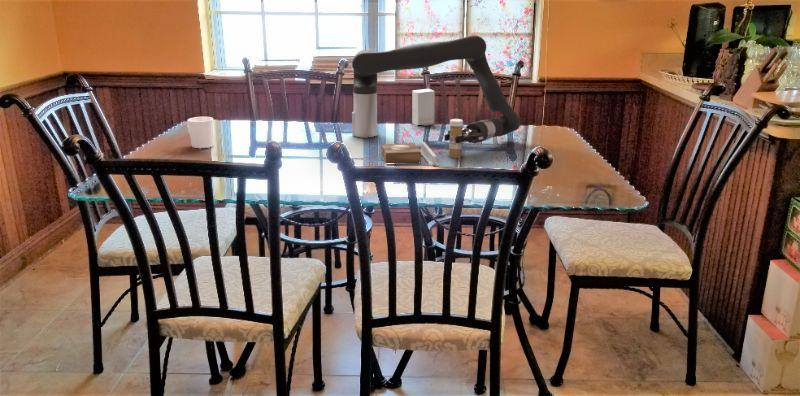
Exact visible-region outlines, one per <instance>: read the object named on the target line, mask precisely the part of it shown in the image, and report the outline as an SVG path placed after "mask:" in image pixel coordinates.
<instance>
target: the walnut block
mask: <svg viewBox="0 0 800 396" xmlns="http://www.w3.org/2000/svg"><path fill="white" fill-rule="evenodd" d="M420 150H421V149H419V148H418V147H417V145H416V144H415V143H414V142H413V143H410V142H409V143H385V144H381V145H380V155H382V156H381V158H382V157H383V158H384V160H385V161H384V160H383V161H384V163H385V162H386V163H410V164H409V165H411V163H415V164H420V163H419V162H421V163H422V155H421V151H420ZM383 158H382V159H383ZM386 163H385V164H386Z"/></svg>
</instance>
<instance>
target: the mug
mask: <svg viewBox="0 0 800 396" xmlns="http://www.w3.org/2000/svg"><path fill="white" fill-rule="evenodd" d="M186 126H187V130H188V131H187V132H188V133H189V136H190V143H191V144H190V145H191V147H192V148H193V147H195V148H208V149H211V148H210V147H212V148H213V146H215V127H214V126H215V125H214V118H213V117H210V116H195V117H190V118H188V119H187V121H186Z"/></svg>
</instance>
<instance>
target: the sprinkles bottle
mask: <svg viewBox="0 0 800 396" xmlns="http://www.w3.org/2000/svg"><path fill="white" fill-rule="evenodd" d="M463 125H464V120H463V119H460V118H453V119H452V118H451V119H450V120H449V127H450V129H449V130H450V140H448V141H449V143H448V144H449V145H448V147H449V148H448V149H449V150H448V157H449V158H451V159H460V158H461V157H462V147H463V142H461V143H455V138H456V137H458V136H462V129H463V128H464V127H463Z"/></svg>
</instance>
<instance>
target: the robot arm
mask: <svg viewBox="0 0 800 396" xmlns="http://www.w3.org/2000/svg"><path fill="white" fill-rule="evenodd" d="M486 50H487V43H486V41H485V39H484V38H483V37H482V36H479V35H474V34H473V35H468V36H464V37H460V38H456V39H453V40H445V41H431V42H428V41H427V42H421V43H414V44H407V45H404V46H400V47H397V48H394V49H391V50H387V51H376V52H375V51H373V52H372V51H371V50H367V49H363V50H359V51H358V52H357V53H356V54H355V55H354V57H353V59H352V62H351V66H352V69H353V85H352V86H353V87H352V89H353V91H352V94H353V111H352V112H351V124H352V125H351V126H352V127H351V128H352V129H351V130H352V133H351V134H352V137H356V138H363V139H364V138H367V139H368V137H369V138H374V136H375V137H376V136H378V74H380V73H385V72H388V71H389V72H390V71H404V70H405V71H406V70H407V71H408V70H417V69H424V68H430V67H433V66H437V65H439V64H443V63H446V62H449V61H457V60H458V61H459V60H465V61H466V62H467V64H468V65H469V67H470V68H471V70H472V72H473V74H474V76H475V78H476V80H477V82H478V85H479V87H480V89H481V92H482V94H483V96H484V99H485V102H486V105H488V108H489V111H491V112H492V113H497V112H499V113H500V114H501V116H500V117H497V118H490V119H489V118H488V119H481V120H477V121H475V122H474V121H473V122H470V123H468V124H467V125H466V127H465V128H464V127H462V136H458V137H456V138H455V143H461V142H462V143H469V144H471V143H472V144H478V143H482V142H485V141H488V140H490V139H493V138H496V137H503V136H506V135H508V134H510V133H513V132H515V131H517V130H518V129H520V127H521V120H520V117H519V115H518V114H517V112H516V111H515V110H514V109H513V107H512V106H511V105H510V103H508V101H507V99H506V96H505V95H504V92H503V89H502V88H501V86H500V84H499V82H498V80H497V79H496V77H495V76H494V74H493V72H492V69H491V67H490V65H489V62H488V59H487V56H486V55H487V54H486ZM449 140H450V129H449V130H448V131H447V133H445V134H444V142H445V141H446V142H448V141H449Z"/></svg>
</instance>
